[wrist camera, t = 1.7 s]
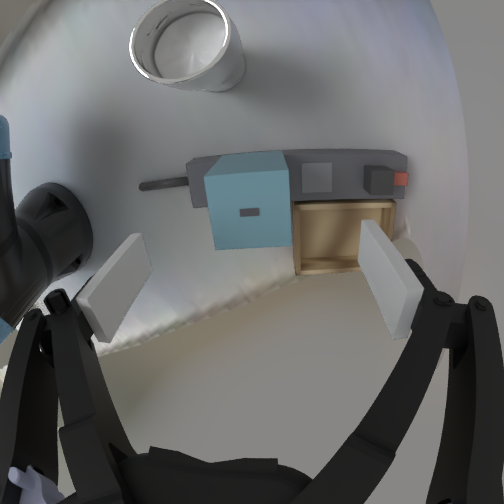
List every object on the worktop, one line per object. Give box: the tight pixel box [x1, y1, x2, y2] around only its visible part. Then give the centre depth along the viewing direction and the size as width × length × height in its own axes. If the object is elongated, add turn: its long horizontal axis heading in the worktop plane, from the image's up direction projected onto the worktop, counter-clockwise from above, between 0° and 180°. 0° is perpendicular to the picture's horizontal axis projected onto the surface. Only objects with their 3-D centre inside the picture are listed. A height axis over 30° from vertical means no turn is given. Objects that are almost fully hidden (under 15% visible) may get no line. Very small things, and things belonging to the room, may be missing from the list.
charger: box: [204, 151, 291, 250], centre depth 25 cm, size 6×6×12 cm
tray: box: [292, 199, 396, 275], centre depth 32 cm, size 12×9×4 cm
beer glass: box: [129, 0, 246, 92], centre depth 19 cm, size 7×7×15 cm
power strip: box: [139, 149, 408, 208], centre depth 29 cm, size 32×5×6 cm, turn 95°
